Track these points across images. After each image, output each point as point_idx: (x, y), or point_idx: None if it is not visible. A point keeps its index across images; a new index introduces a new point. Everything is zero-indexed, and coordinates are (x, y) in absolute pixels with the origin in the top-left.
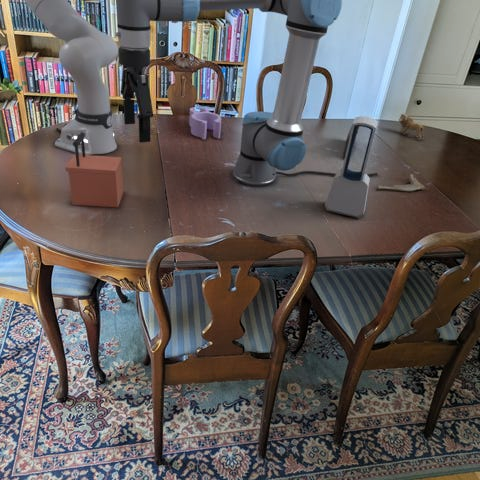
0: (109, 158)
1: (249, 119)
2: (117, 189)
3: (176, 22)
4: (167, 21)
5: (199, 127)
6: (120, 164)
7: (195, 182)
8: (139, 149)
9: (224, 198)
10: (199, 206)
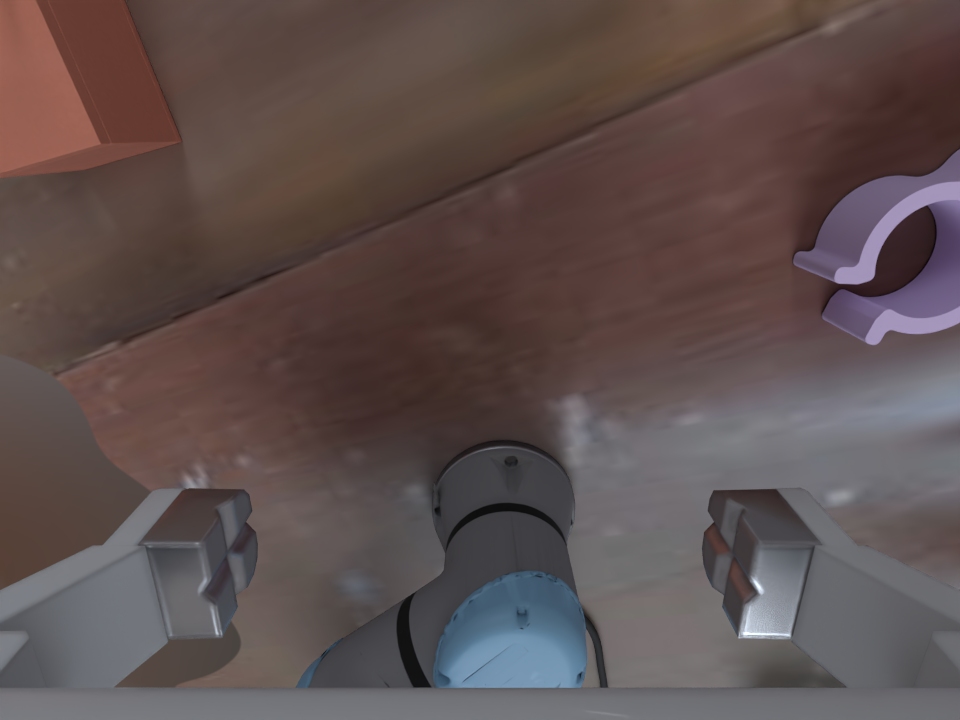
0: (58, 98)
1: (447, 641)
2: (51, 171)
3: (706, 567)
4: (202, 625)
5: (843, 242)
6: (85, 151)
7: (381, 345)
8: (590, 23)
9: (317, 452)
10: (232, 401)
